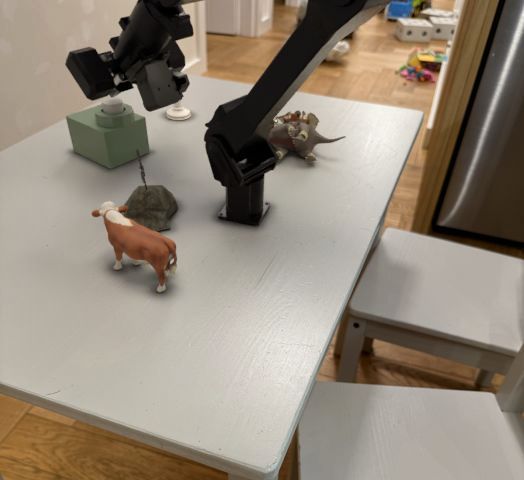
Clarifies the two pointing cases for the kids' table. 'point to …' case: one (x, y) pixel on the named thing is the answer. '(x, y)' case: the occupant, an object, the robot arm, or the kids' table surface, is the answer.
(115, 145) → the green push button box
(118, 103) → the flush button
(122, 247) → the bull figurine
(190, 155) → the kids' table surface
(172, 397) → the kids' table surface
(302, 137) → the figurine
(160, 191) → the sword in stone
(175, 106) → the chess piece
